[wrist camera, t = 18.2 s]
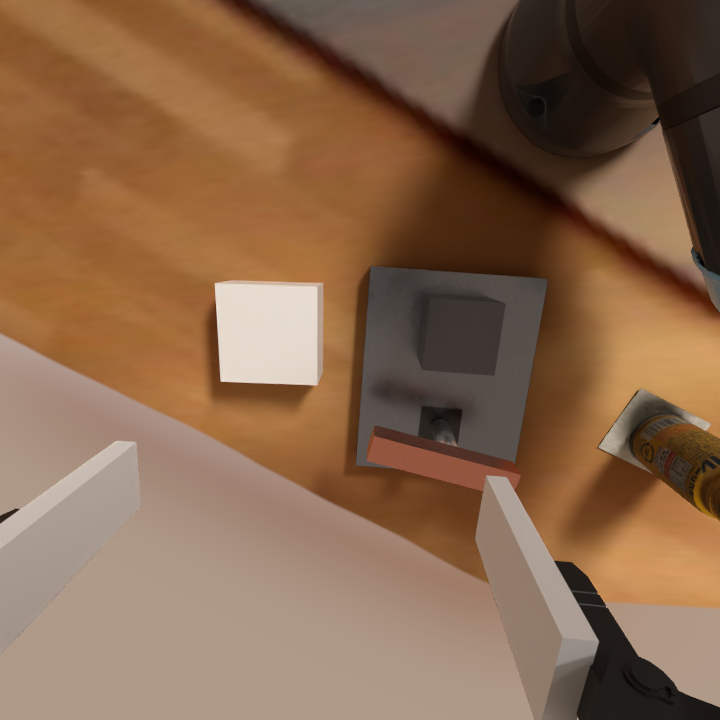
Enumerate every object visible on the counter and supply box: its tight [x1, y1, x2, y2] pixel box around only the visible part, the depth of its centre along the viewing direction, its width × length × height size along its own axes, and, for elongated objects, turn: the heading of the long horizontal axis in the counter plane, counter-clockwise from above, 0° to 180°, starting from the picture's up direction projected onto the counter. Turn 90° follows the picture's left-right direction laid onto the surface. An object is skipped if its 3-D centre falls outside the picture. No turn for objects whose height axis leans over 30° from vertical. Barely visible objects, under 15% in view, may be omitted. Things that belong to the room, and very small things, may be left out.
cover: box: [215, 280, 323, 385], centre depth 39 cm, size 9×9×4 cm
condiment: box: [598, 389, 720, 521], centre depth 37 cm, size 7×8×12 cm
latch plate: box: [356, 266, 548, 469], centre depth 38 cm, size 20×16×7 cm
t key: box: [367, 419, 521, 491], centre depth 37 cm, size 12×2×8 cm, turn 75°
